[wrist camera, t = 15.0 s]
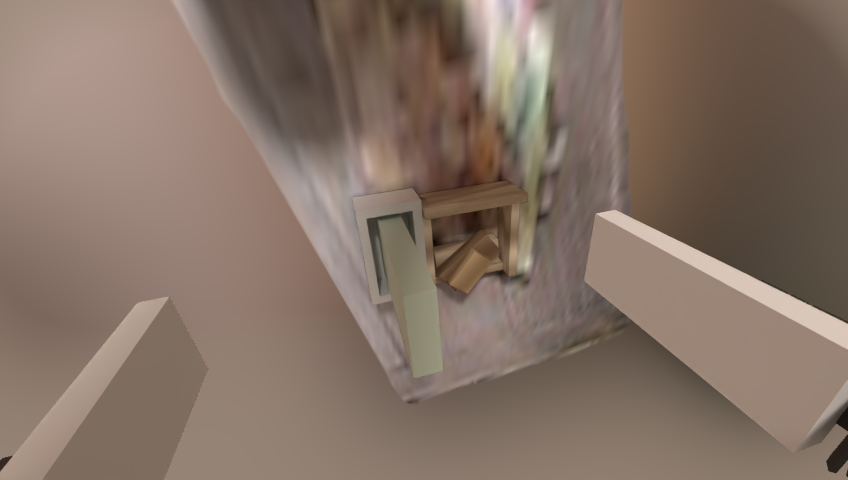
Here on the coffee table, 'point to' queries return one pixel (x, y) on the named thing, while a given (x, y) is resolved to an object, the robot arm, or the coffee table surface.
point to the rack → (475, 200)
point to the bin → (366, 222)
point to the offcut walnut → (476, 241)
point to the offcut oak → (469, 270)
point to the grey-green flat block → (411, 296)
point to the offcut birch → (448, 249)
